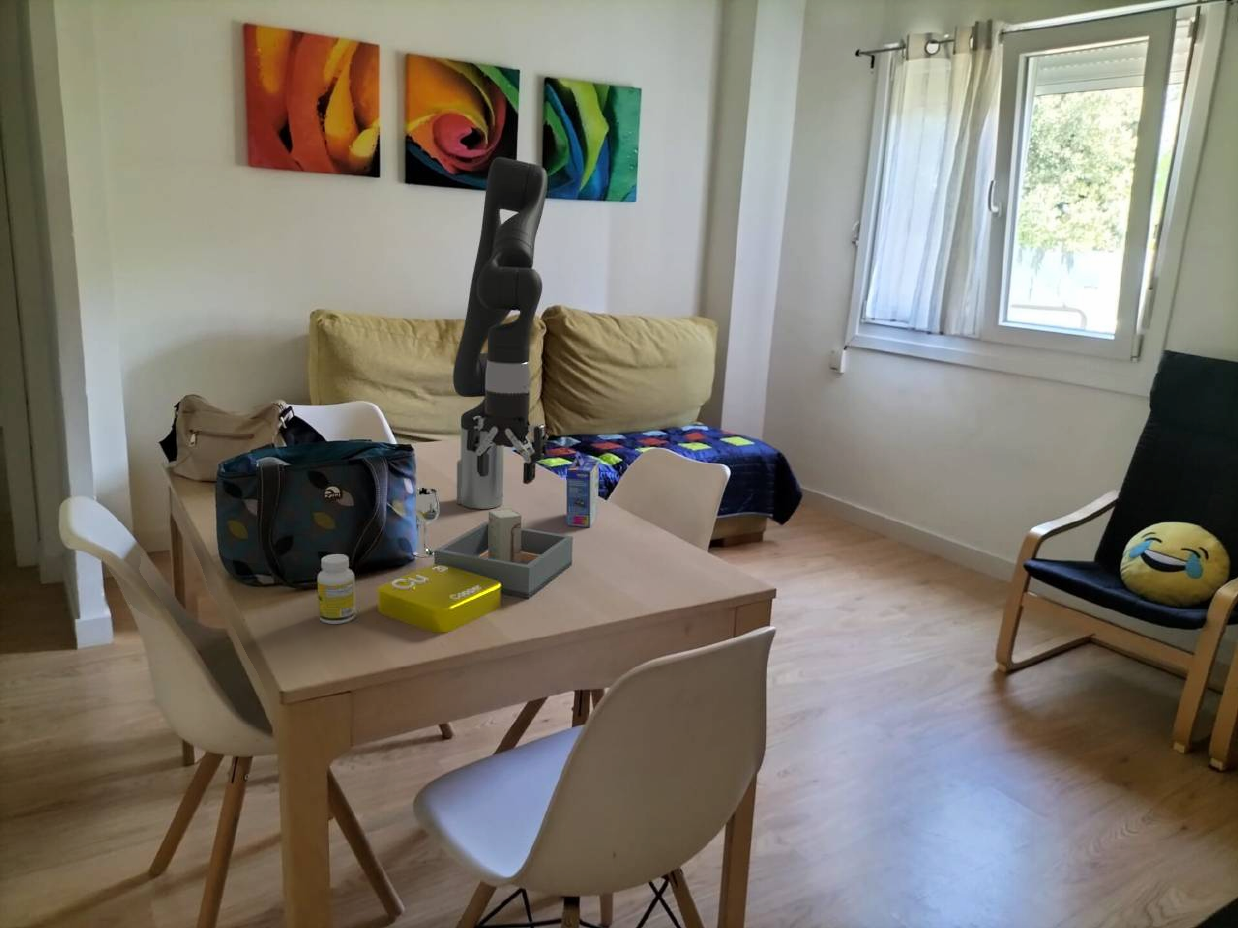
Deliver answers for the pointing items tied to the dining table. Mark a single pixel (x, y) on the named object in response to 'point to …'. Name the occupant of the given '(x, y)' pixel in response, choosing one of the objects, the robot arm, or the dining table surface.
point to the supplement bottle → (336, 590)
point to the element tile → (439, 598)
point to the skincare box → (504, 535)
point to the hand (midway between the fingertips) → (505, 479)
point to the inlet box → (537, 568)
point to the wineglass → (426, 514)
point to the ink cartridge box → (582, 492)
